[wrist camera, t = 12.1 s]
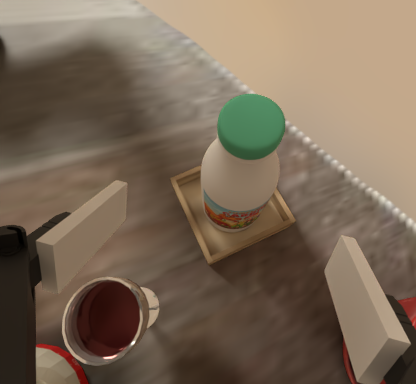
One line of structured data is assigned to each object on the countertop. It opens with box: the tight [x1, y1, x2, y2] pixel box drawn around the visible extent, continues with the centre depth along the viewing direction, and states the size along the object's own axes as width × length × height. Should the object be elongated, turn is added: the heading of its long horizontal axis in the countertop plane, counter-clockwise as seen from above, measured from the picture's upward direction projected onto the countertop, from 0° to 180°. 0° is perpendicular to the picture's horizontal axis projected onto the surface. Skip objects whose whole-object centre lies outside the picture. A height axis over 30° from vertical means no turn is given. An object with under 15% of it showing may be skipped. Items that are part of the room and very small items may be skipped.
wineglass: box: [62, 277, 159, 366], centre depth 28 cm, size 7×7×12 cm
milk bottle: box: [201, 94, 285, 233], centre depth 27 cm, size 8×8×20 cm
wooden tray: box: [170, 165, 296, 265], centre depth 36 cm, size 12×12×4 cm
